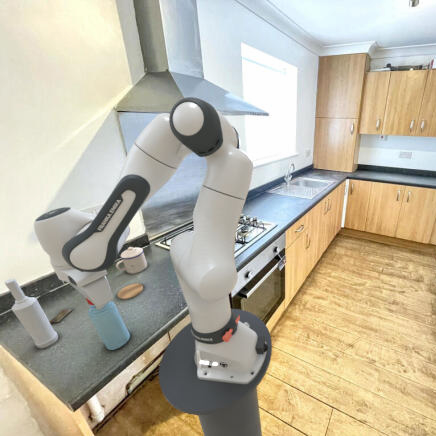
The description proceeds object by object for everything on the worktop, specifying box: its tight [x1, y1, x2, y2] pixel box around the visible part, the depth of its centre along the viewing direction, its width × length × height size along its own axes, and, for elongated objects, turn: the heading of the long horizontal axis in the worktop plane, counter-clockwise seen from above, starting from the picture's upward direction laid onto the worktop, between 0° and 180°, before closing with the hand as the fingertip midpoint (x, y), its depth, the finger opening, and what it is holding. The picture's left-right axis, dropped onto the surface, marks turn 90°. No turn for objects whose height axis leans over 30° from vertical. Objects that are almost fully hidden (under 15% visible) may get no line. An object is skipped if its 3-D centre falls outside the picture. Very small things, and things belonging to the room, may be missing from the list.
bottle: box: [4, 278, 59, 349], centre depth 71 cm, size 5×5×25 cm
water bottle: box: [88, 300, 131, 351], centre depth 72 cm, size 6×6×19 cm
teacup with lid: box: [115, 246, 148, 274], centre depth 109 cm, size 12×9×12 cm
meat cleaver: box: [48, 308, 73, 325], centre depth 83 cm, size 12×1×5 cm
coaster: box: [117, 282, 144, 300], centre depth 97 cm, size 9×9×1 cm
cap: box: [84, 296, 94, 306], centre depth 68 cm, size 4×4×3 cm
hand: (96, 304), depth 69 cm, fingers closed on cap, 4 cm apart
